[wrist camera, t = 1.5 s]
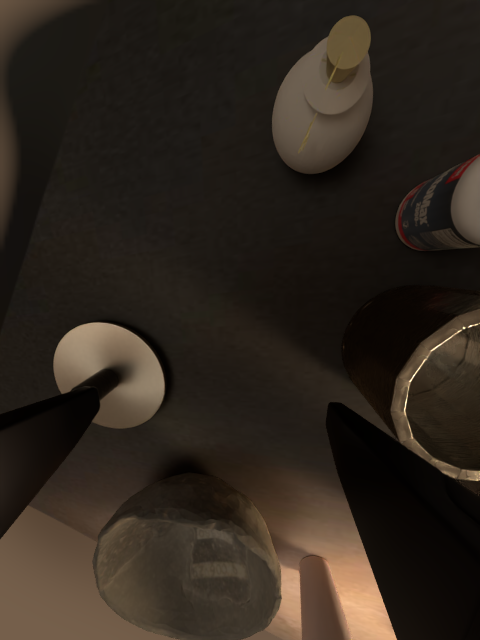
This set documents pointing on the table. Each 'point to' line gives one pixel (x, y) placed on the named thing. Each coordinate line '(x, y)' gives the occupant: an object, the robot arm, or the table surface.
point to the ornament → (325, 100)
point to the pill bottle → (443, 210)
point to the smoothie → (320, 603)
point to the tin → (422, 371)
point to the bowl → (189, 561)
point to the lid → (112, 372)
